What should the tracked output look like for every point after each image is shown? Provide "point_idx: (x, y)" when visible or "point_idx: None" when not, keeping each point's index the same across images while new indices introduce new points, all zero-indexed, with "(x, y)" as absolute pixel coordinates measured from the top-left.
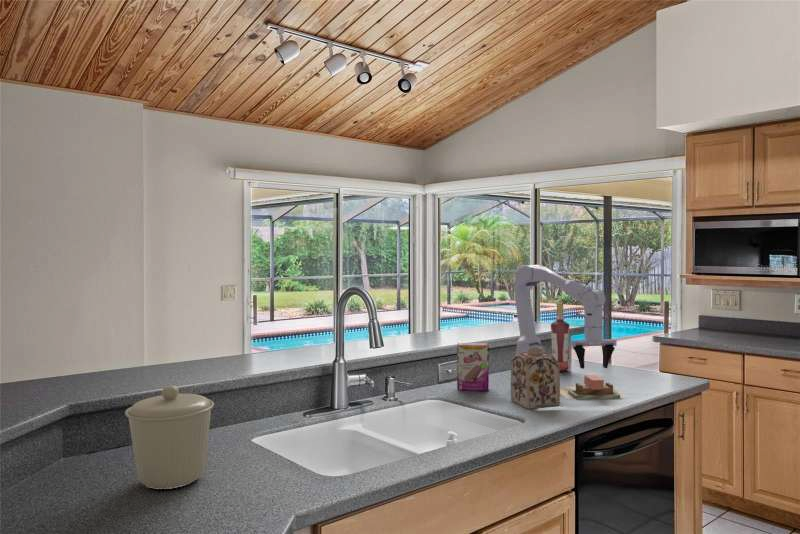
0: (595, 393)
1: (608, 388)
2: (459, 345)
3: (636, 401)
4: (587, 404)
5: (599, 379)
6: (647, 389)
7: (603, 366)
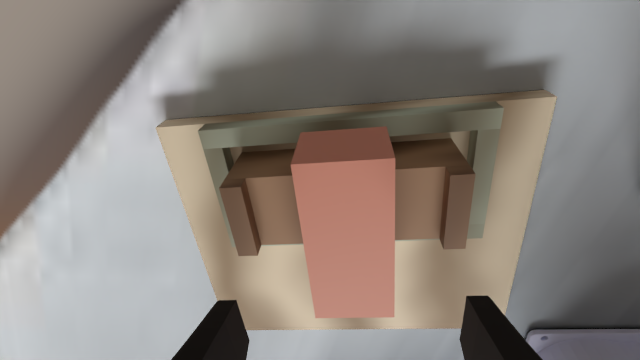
0: None
1: (257, 175)
2: None
3: (123, 124)
4: (427, 51)
5: (320, 189)
6: (75, 310)
7: (245, 340)
